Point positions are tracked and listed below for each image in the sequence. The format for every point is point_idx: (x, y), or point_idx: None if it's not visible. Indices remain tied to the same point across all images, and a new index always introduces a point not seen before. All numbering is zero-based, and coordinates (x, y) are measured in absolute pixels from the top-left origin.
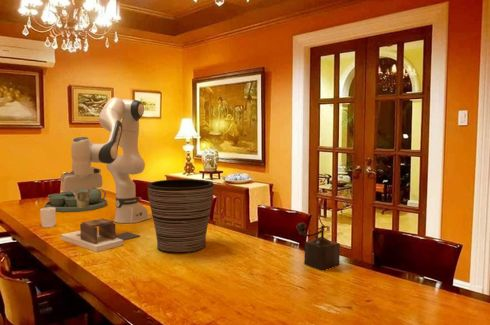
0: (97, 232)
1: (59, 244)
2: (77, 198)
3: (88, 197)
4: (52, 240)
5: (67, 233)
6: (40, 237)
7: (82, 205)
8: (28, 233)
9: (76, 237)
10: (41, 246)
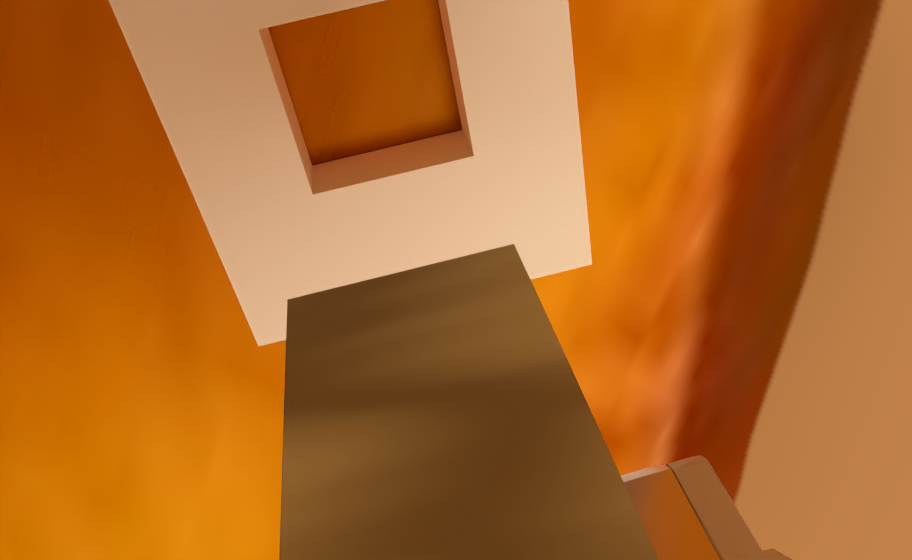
0: (163, 109)
1: (673, 37)
2: (694, 480)
3: (286, 517)
4: (651, 245)
5: None
6: (679, 397)
7: (490, 290)
8: None
9: (504, 5)
10: (837, 76)
